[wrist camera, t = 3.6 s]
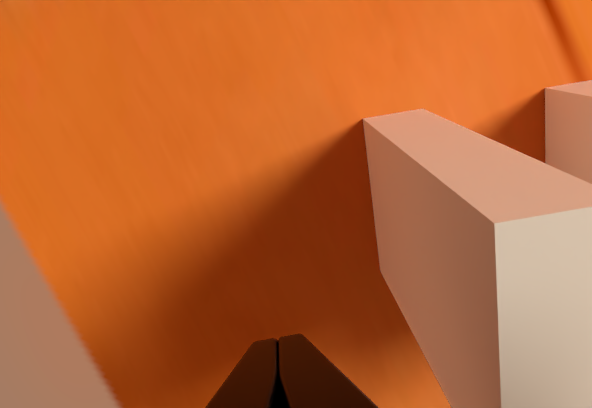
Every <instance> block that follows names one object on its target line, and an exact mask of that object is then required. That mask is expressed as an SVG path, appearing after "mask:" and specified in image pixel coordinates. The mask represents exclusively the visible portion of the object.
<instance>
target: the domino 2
mask: <svg viewBox="0 0 592 408" xmlns="http://www.w3.org/2000/svg"><path fill="white" fill-rule="evenodd" d="M545 163H546V164H548V165H550V166H552V167H554V168H557V169H559V170H561V171H563V172H566V173H568V174H570V175H572V176H575V177H577V178H579V179H581V180H584V181H586V182H588V183H590V184H592V80H589V81H583V82H577V83H572V84H566V85H560V86H554V87H548V88H545Z"/></svg>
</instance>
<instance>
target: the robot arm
mask: <svg viewBox="0 0 592 408" xmlns="http://www.w3.org/2000/svg"><path fill="white" fill-rule="evenodd" d="M205 408H378V407H377V406H376V405H375V404H374V403H373V402H372V401H371V400H370V399H369V398H368V397H367V396H366V395H365V394H364V393H363V392H362V391H361V390H360V389H359V388H358V387H357V386H355V385H354V384H353V383H352V382H351V381H350V380H349V379H348V378H347V377H346V376H345V375H344V374H343V373H342V372H341V371H340V370H339V369H338V368H337V367H336V366H335V365H334V364H332V363H331V362H330V361H329V360H328V359H327V358H326V357H325V356H324V355H323V354H322V353H321V352H320V351H319V350H318V349H317V348H316V347H315V346H314V345H313V344H312V343H311V342H309V341H308V340H307V339H306V338H305V337H304V336H303V335H302V334H295V335H289V336H284V337H280V338H279V340H278V341H277V340H276V339H267V340H261V341H256V342H254V343H253V344H252V345H251V346H250V348H249V349H248V350H247V352H246V353H245V354H244V356H243V357H242V359H241V360H240V361H239V363H238V364H237V365H236V367H235V368H234V369H233V371H232V372H231V373H230V375H229V376H228V378H227V379H226V380H225V382H224V383H223V384H222V386H221V387H220V388H219V390H218V391H217V393H216V394H215V395H214V397H213V398H212V399H211V401H210V402H209V403H208V405H207V406H206V407H205Z"/></svg>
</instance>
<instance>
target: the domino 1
mask: <svg viewBox="0 0 592 408" xmlns="http://www.w3.org/2000/svg"><path fill="white" fill-rule="evenodd" d="M363 126H364V135H365V143H366V152H367V161H368V169H369V178H370V187H371V196H372V204H373V213H374V222H375V230H376V239H377V248H378V256H379V265H380V272H381V273H382V275H383V277H384V279H385V281H386V283H387V285H388V287H389V289H390V291H391V293H392V295H393V296H394V298H395V300H396V302H397V304H398V306H399V308H400V310H401V312H402V314H403V316H404V318H405V319H406V321H407V323H408V325H409V327H410V329H411V331H412V333H413V335H414V337H415V339H416V341H417V342H418V344H419V346H420V348H421V350H422V352H423V354H424V356H425V358H426V360H427V362H428V363H429V365H430V367H431V369H432V371H433V373H434V375H435V377H436V379H437V381H438V383H439V385H440V386H441V388H442V390H443V392H444V394H445V396H446V398H447V400H448V402H449V404H450V406H451V408H592V184H590V183H588V182H586V181H584V180H581V179H579V178H577V177H575V176H572V175H570V174H568V173H566V172H563V171H561V170H559V169H557V168H554V167H552V166H550V165H548V164H546V163H543V162H541V161H539V160H537V159H534V158H532V157H530V156H528V155H525V154H523V153H521V152H519V151H516V150H514V149H512V148H510V147H508V146H505V145H503V144H501V143H499V142H496V141H494V140H492V139H490V138H487V137H485V136H483V135H481V134H478V133H476V132H474V131H472V130H469V129H467V128H465V127H463V126H461V125H458V124H456V123H454V122H452V121H449V120H447V119H445V118H443V117H440V116H438V115H436V114H434V113H431V112H429V111H427V110H425V109H417V110H411V111H405V112H399V113H393V114H387V115H381V116H375V117H369V118H363Z"/></svg>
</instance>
